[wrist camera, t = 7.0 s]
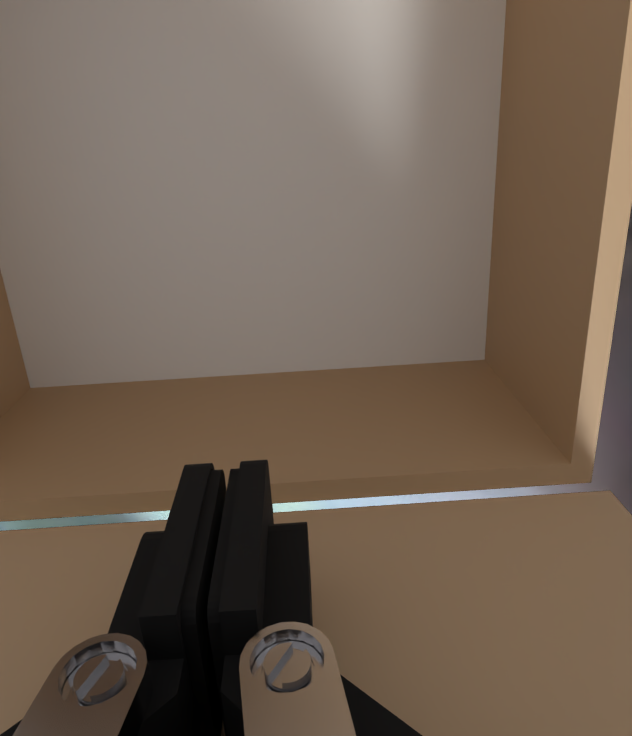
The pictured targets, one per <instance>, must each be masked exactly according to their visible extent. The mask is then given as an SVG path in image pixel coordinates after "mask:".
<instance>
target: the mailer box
mask: <svg viewBox="0 0 632 736" xmlns="http://www.w3.org/2000/svg"><path fill="white" fill-rule="evenodd" d="M631 205H632V0H0V522H1V521H16V520H31V519H46V518H62V517H77V516H92V515H107V514H122V513H137V512H152V511H167V510H171V507H172V504H173V501H174V497H175V494H176V491H177V488H178V484H179V481H180V478H181V474H182V471H183V468H184V466H185V465H187V464H203V463H213V465H214V469H215V470H221V469H223V471H224V475H225V482H226V490H227V485H228V479H229V473H230V469H237V468H239V467H240V462H241V461H252V460H268V465H269V475H270V486H271V497H272V504H273V503H288V502H303V501H319V500H334V499H349V498H364V497H379V496H394V495H409V494H424V493H440V492H455V491H470V490H485V489H500V488H515V487H530V486H545V485H560V484H576V483H591V480H592V474H593V467H594V460H595V453H596V446H597V439H598V432H599V425H600V418H601V412H602V405H603V398H604V391H605V384H606V377H607V370H608V363H609V356H610V350H611V343H612V336H613V329H614V322H615V315H616V308H617V301H618V295H619V288H620V281H621V274H622V267H623V260H624V253H625V246H626V239H627V233H628V226H629V219H630V212H631Z"/></svg>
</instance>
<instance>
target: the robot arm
mask: <svg viewBox="0 0 632 736" xmlns="http://www.w3.org/2000/svg"><path fill="white" fill-rule="evenodd" d="M222 720H223V725H224V731H225V736H422V735H421V734H420V733H418V732H417V731H416V730H414V729H413V728H412V727H410V726H409V725H408V724H406V723H405V722H404V721H402V720H401V719H400V718H398V717H397V716H396V715H394V714H393V713H392V712H390V711H389V710H388V709H386V708H385V707H383V706H382V705H381V704H379V703H378V702H377V701H375V700H374V699H373V698H371V697H370V696H369V695H367V694H366V693H365V692H363V691H362V690H361V689H359V688H358V687H357V686H355V685H354V684H353V683H351V682H350V681H349V680H347V679H346V678H345V677H343V676H342V675H341V674H340V672H339V668H338V664H337V661H336V657H335V653H334V650H333V648H332V645H331V643H330V641H329V639H328V638H327V637H326V636H325V635H324V634H323V633H322V632H321V631H320V630H318V629H316V628H314V627H313V617H312V593H311V573H310V556H309V540H308V526H307V522H296V523H280V524H274V519H273V508H272V497H271V486H270V475H269V465H268V460H252V461H241V462H240V467H239V468H237V469H230V473H229V479H228V485H227V490H226V482H225V475H224V471H223V469H221V470H215V469H214V465H213V463H203V464H187V465H185V466H184V468H183V471H182V474H181V478H180V481H179V484H178V488H177V491H176V494H175V497H174V501H173V504H172V507H171V511H170V514H169V517H168V520H167V524H166V527H165V530H164V531H153V532H145V533H144V534H143V536H142V538H141V540H140V543H139V546H138V549H137V551H136V554H135V557H134V560H133V563H132V566H131V568H130V571H129V574H128V577H127V580H126V583H125V585H124V588H123V591H122V594H121V597H120V600H119V602H118V605H117V608H116V611H115V614H114V617H113V619H112V622H111V625H110V628H109V631H108V634H102V635H99V636H95V637H92V638H89V639H87V640H85V641H83V642H81V643H80V644H78V645H76V646H74V647H73V648H72V649H71V650H69V651H68V652H67V653H66V654H65V655H63V656H62V657H61V659H60V660H59V661H58V662H57V664H56V665H55V666H54V668H53V669H52V671H51V672H50V674H49V676H48V677H47V679H46V681H45V682H44V684H43V686H42V687H41V689H40V691H39V692H38V694H37V696H36V697H35V699H34V701H33V702H32V704H31V706H30V707H29V709H28V711H27V712H26V714H25V716H24V717H23V719H22V720H20V721H19V722H17V723H16V724H15V725H13V726H12V727H10V728H9V729H7V730H6V731H5V732H3V733H2V734H0V736H221V729H222Z"/></svg>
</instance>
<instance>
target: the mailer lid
mask: <svg viewBox="0 0 632 736" xmlns="http://www.w3.org/2000/svg"><path fill="white" fill-rule="evenodd" d="M273 519H274V524H280V523H296V522H307V526H308V540H309V556H310V573H311V593H312V617H313V627H314V628H316V629H318V630H320V631H321V632H322V633H323V634H324V635H325V636H326V637H327V638H328V639H329V641H330V643H331V645H332V648H333V650H334V653H335V657H336V661H337V664H338V668H339V672H340V674H341V675H342V676H343V677H345V678H346V679H347V680H349V681H350V682H351V683H353V684H354V685H355V686H357V687H358V688H359V689H361V690H362V691H363V692H365V693H366V694H367V695H369V696H370V697H371V698H373V699H374V700H375V701H377V702H378V703H379V704H381V705H382V706H383V707H385V708H386V709H388V710H389V711H390V712H392V713H393V714H394V715H396V716H397V717H398V718H400V719H401V720H402V721H404V722H405V723H406V724H408V725H409V726H410V727H412V728H413V729H414V730H416V731H417V732H418V733H420V734H421V735H422V736H632V515H631V514H630V513H629V512H628V510H627V509H626V508H625V507H624V506H623V505H622V503H621V502H620V501H619V500H618V499H617V498H616V497H615V495H614V494H613V493H612V492H611V491H610V490H608V491H593V492H578V493H563V494H548V495H533V496H518V497H503V498H488V499H473V500H458V501H442V502H427V503H412V504H397V505H382V506H367V507H352V508H337V509H322V510H307V511H292V512H277V513H273ZM166 524H167V520H156V521H141V522H126V523H111V524H96V525H81V526H66V527H51V528H36V529H21V530H6V531H0V734H2V733H3V732H5V731H6V730H7V729H9V728H10V727H12V726H13V725H15V724H16V723H17V722H19V721H20V720H22V719H23V717H24V716H25V714H26V712H27V711H28V709H29V707H30V706H31V704H32V702H33V701H34V699H35V697H36V696H37V694H38V692H39V691H40V689H41V687H42V686H43V684H44V682H45V681H46V679H47V677H48V676H49V674H50V672H51V671H52V669H53V668H54V666H55V665H56V664H57V662H58V661H59V660H60V659H61V657H62V656H63V655H65V654H66V653H67V652H68V651H69V650H71V649H72V648H73V647H74V646H76V645H78V644H80V643H81V642H83V641H85V640H87V639H89V638H92V637H95V636H99V635H102V634H108V631H109V628H110V625H111V622H112V619H113V617H114V614H115V611H116V608H117V605H118V602H119V600H120V597H121V594H122V591H123V588H124V585H125V583H126V580H127V577H128V574H129V571H130V568H131V566H132V563H133V560H134V557H135V554H136V551H137V549H138V546H139V543H140V540H141V538H142V536H143V534H144V533H145V532H153V531H164V530H165V527H166ZM221 736H225V731H224V725H223V720H222V729H221Z"/></svg>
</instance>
